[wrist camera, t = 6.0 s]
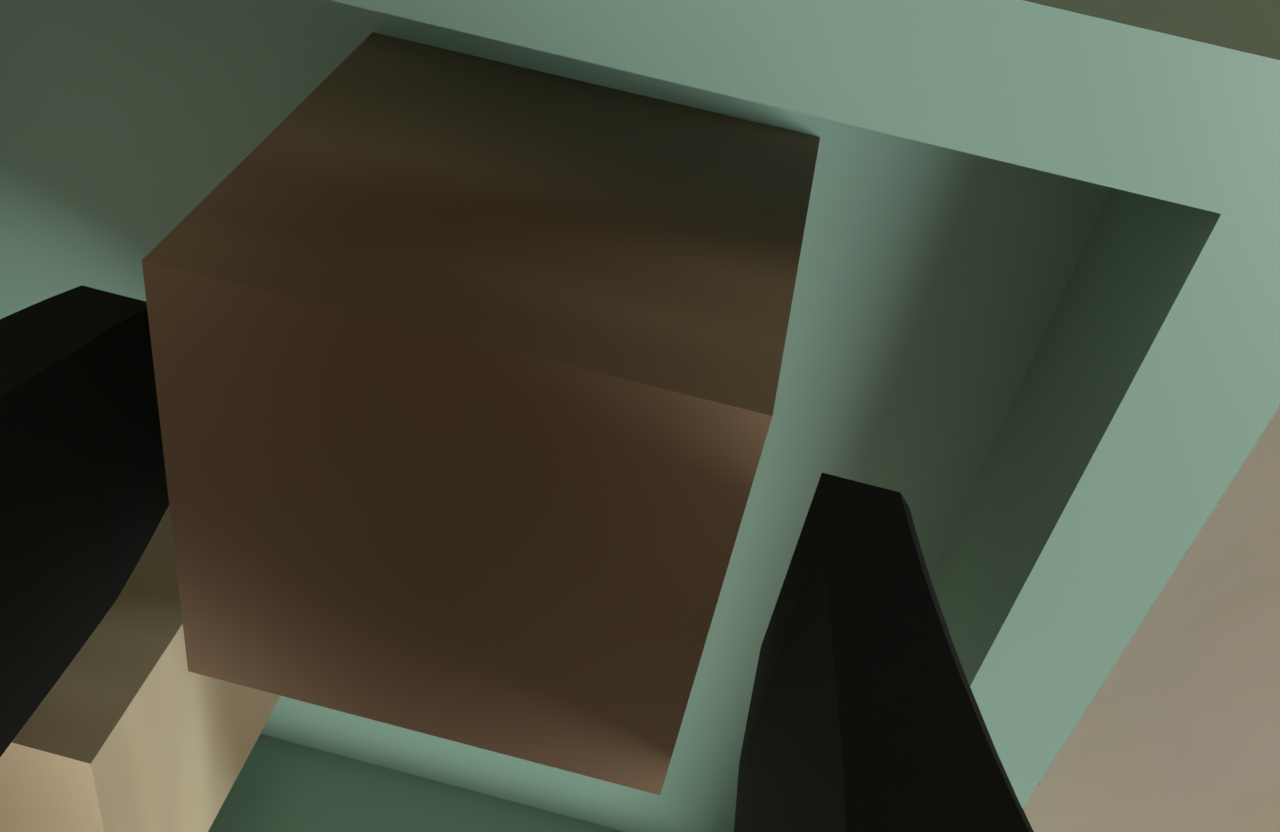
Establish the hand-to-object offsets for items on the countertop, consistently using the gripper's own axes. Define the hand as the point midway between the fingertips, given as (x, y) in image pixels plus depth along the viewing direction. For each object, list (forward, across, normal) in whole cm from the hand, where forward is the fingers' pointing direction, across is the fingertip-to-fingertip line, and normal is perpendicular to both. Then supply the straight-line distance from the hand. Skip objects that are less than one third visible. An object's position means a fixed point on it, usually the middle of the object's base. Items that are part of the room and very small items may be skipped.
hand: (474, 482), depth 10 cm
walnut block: (+3, 0, 0) cm, 3 cm away
